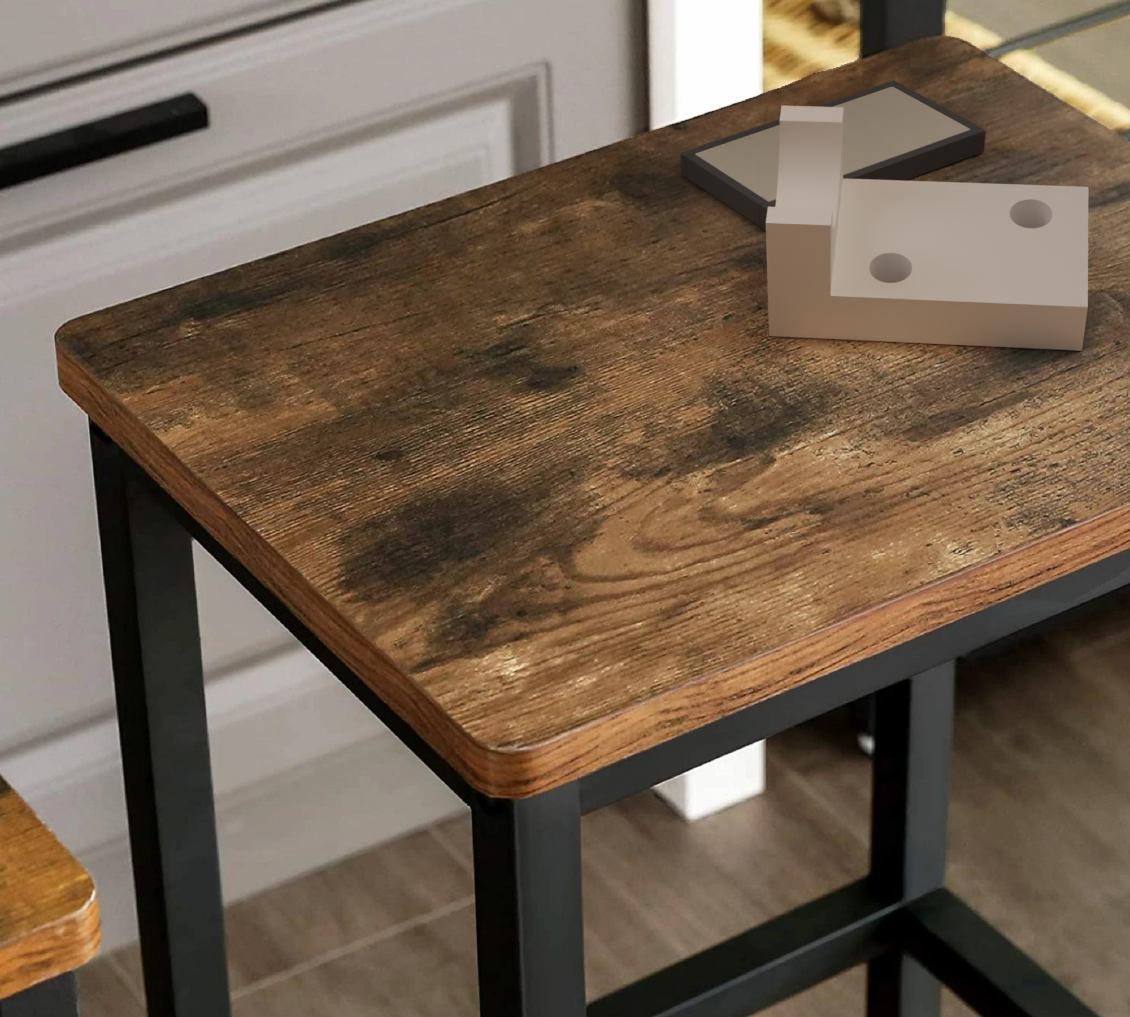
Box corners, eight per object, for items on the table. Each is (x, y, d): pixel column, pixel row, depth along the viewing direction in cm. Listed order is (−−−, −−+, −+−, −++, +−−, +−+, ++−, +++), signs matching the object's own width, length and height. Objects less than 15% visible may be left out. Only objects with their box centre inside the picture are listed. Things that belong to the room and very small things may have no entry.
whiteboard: (892, 101, 109) (893, 79, 108) (984, 152, 104) (986, 129, 104) (680, 174, 104) (679, 152, 103) (766, 231, 99) (766, 208, 98)
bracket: (769, 351, 93) (765, 223, 87) (784, 235, 97) (781, 105, 91) (1079, 365, 90) (1097, 235, 84) (1080, 246, 95) (1097, 114, 89)
